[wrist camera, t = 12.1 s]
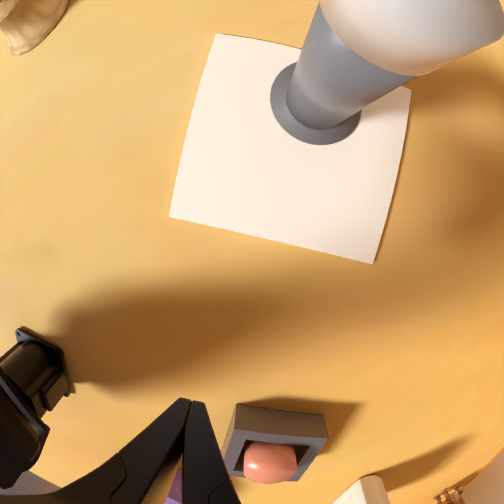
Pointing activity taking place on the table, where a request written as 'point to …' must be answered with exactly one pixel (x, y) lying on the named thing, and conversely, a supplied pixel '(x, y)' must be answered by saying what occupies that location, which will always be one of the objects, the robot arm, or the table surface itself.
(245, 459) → the button
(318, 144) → the notepad
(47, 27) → the hand bell
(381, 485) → the photo printer
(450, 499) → the lion figurine
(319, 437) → the button box
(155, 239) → the table surface
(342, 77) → the marker
